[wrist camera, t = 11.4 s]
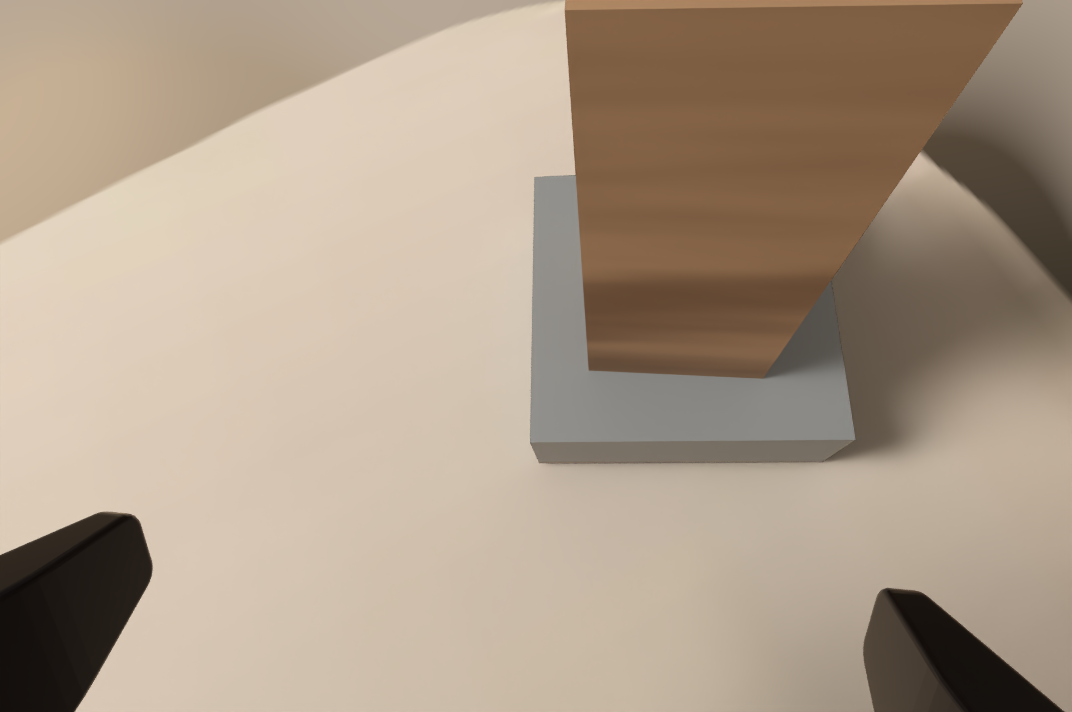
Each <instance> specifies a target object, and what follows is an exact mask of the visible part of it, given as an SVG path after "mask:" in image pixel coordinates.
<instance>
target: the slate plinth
mask: <svg viewBox="0 0 1072 712" xmlns="http://www.w3.org/2000/svg"><path fill="white" fill-rule="evenodd" d="M854 440H856V439H855V433H854V426H853V420H852V413H851V407H850V400H849V393H848V387H847V380H846V374H845V367H844V360H843V354H842V347H841V341H840V334H839V328H838V321H837V314H836V308H835V301H834V295H833V288H832V281H830V283H829V284H828V285H827V287H826V288H825V290H824V291H823V293H822V294H821V296H820V297H819V298H818V300H817V301H816V303H815V304H814V306H813V307H812V309H811V310H810V311H809V313H808V314H807V316H806V317H805V319H804V320H803V322H802V323H801V324H800V326H799V327H798V329H797V330H796V332H795V333H794V334H793V336H792V337H791V339H790V340H789V342H788V343H787V345H786V346H785V347H784V349H783V350H782V352H781V353H780V355H779V356H778V358H777V359H776V360H775V362H774V363H773V365H772V366H771V368H770V369H769V371H768V372H767V373H766V375H765V376H764V378H763V379H757V378H736V377H715V376H693V375H672V374H651V373H629V372H608V371H589V369H588V354H587V339H586V323H585V308H584V293H583V278H582V263H581V248H580V233H579V218H578V203H577V187H576V175H568V176H545V177H535V178H534V237H533V296H532V356H531V415H530V443H531V446H532V448H533V450H534V452H535V455H536V457H537V459H538V461H539V463H650V462H823V461H824V460H826V459H827V458H829V457H830V456H832V455H833V454H835V453H836V452H838V451H839V450H841V449H842V448H844V447H845V446H847V445H848V444H850V443H851V442H853V441H854Z"/></svg>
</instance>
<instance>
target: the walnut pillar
mask: <svg viewBox="0 0 1072 712" xmlns="http://www.w3.org/2000/svg"><path fill="white" fill-rule="evenodd" d="M1022 4H1023V2H1022V0H566V2H565V21H566V36H567V51H568V66H569V82H570V97H571V112H572V127H573V142H574V157H575V172H576V187H577V203H578V218H579V233H580V248H581V263H582V278H583V293H584V308H585V323H586V339H587V354H588V369H589V371H608V372H629V373H651V374H672V375H693V376H715V377H736V378H757V379H763V378H764V376H765V375H766V373H767V372H768V371H769V369H770V368H771V366H772V365H773V363H774V362H775V360H776V359H777V358H778V356H779V355H780V353H781V352H782V350H783V349H784V347H785V346H786V345H787V343H788V342H789V340H790V339H791V337H792V336H793V334H794V333H795V332H796V330H797V329H798V327H799V326H800V324H801V323H802V322H803V320H804V319H805V317H806V316H807V314H808V313H809V311H810V310H811V309H812V307H813V306H814V304H815V303H816V301H817V300H818V298H819V297H820V296H821V294H822V293H823V291H824V290H825V288H826V287H827V285H828V284H829V283H830V281H831V280H832V278H833V277H834V275H835V274H836V272H837V271H838V270H839V268H840V267H841V265H842V264H843V262H844V261H845V259H846V258H847V257H848V255H849V254H850V252H851V251H852V249H853V248H854V246H855V245H856V244H857V242H858V241H859V239H860V238H861V236H862V235H863V233H864V232H865V231H866V229H867V228H868V226H869V225H870V223H871V222H872V220H873V219H874V218H875V216H876V215H877V213H878V212H879V210H880V209H881V207H882V206H883V205H884V203H885V202H886V200H887V199H888V197H889V196H890V194H891V193H892V192H893V190H894V189H895V187H896V186H897V184H898V183H899V181H900V180H901V179H902V177H903V176H904V174H905V173H906V171H907V170H908V169H909V167H910V166H911V164H912V163H913V161H914V160H915V158H916V157H917V156H918V154H919V153H920V151H921V150H922V148H923V147H924V145H925V144H926V142H927V141H928V140H929V138H930V136H931V135H932V133H933V132H934V131H935V130H936V128H937V127H938V125H939V124H940V122H941V121H942V119H943V118H944V116H945V115H946V114H947V112H948V111H949V109H950V108H951V106H952V105H953V103H954V102H955V101H956V99H957V98H958V96H959V95H960V93H961V92H962V91H963V89H964V88H965V86H966V85H967V83H968V82H969V80H970V79H971V77H972V76H973V75H974V73H975V71H976V70H977V69H978V67H979V66H980V65H981V63H982V62H983V60H984V59H985V57H986V56H987V54H988V53H989V52H990V50H991V49H992V47H993V46H994V44H995V43H996V41H997V40H998V38H999V37H1000V36H1001V34H1002V33H1003V31H1004V30H1005V28H1006V27H1007V26H1008V24H1009V23H1010V21H1011V20H1012V18H1013V17H1014V16H1015V14H1016V13H1017V11H1018V10H1019V8H1020V7H1021V5H1022Z"/></svg>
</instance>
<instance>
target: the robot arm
mask: <svg viewBox="0 0 1072 712" xmlns="http://www.w3.org/2000/svg"><path fill="white" fill-rule="evenodd" d="M152 570H153V565H152V560H151V557H150V553H149V550H148V547H147V543H146V540H145V537H144V533H143V530H142V527H141V524H140V521H139V520H138V519H137V518H136V517H135V516H134V515H131V514H127V513H117V512H100V513H97V514H94V515H92V516H90V517H87V518H85V519H83V520H80V521H78V522H76V523H73V524H71V525H69V526H66V527H64V528H62V529H60V530H57V531H55V532H53V533H50V534H48V535H46V536H43V537H41V538H39V539H36V540H34V541H32V542H29V543H27V544H25V545H23V546H20V547H18V548H16V549H13V550H11V551H9V552H6V553H4V554H2V555H0V712H75V710H76V709H77V707H78V706H79V704H80V703H81V701H82V700H83V698H84V697H85V695H86V693H87V692H88V690H89V688H90V687H91V685H92V683H93V682H94V680H95V678H96V677H97V675H98V673H99V671H100V669H101V668H102V666H103V664H104V662H105V661H106V659H107V657H108V655H109V653H110V652H111V650H112V648H113V646H114V645H115V643H116V641H117V639H118V638H119V636H120V634H121V632H122V630H123V629H124V627H125V625H126V623H127V622H128V620H129V618H130V616H131V615H132V613H133V611H134V609H135V607H136V606H137V604H138V602H139V600H140V599H141V597H142V595H143V593H144V592H145V590H146V588H147V586H148V584H149V582H150V579H151V576H152ZM863 655H864V664H865V669H866V674H867V679H868V683H869V688H870V693H871V698H872V703H873V708H874V712H1064V711H1063V710H1062V709H1061V708H1059V707H1058V706H1057V705H1056V704H1055V703H1054V702H1052V701H1051V700H1050V699H1049V698H1048V697H1046V696H1045V695H1044V694H1043V693H1042V692H1041V691H1039V690H1038V689H1037V688H1036V687H1035V686H1033V685H1032V684H1031V683H1030V682H1029V681H1027V680H1026V679H1025V678H1024V677H1023V676H1022V675H1020V674H1019V673H1018V672H1017V671H1016V670H1014V669H1013V668H1012V667H1011V666H1010V665H1009V664H1007V663H1006V662H1005V661H1004V660H1003V659H1001V658H1000V657H999V656H998V655H997V654H995V653H994V652H993V651H992V650H991V649H990V648H988V647H987V646H986V645H985V644H984V643H982V642H981V641H980V640H979V639H978V638H977V637H975V636H974V635H973V634H972V633H971V632H969V631H968V630H967V629H966V628H965V627H963V626H962V625H961V624H960V623H959V622H958V621H956V620H955V619H954V618H953V617H952V616H950V615H949V614H948V613H947V612H946V611H945V610H943V609H942V608H941V607H940V606H939V605H937V604H936V603H935V602H934V601H933V600H931V599H930V598H929V597H928V596H926V595H925V594H923V593H921V592H919V591H914V590H903V589H893V588H886V589H883V590H881V591H880V592H879V594H878V596H877V598H876V601H875V605H874V608H873V612H872V615H871V619H870V622H869V626H868V629H867V633H866V636H865V640H864V647H863Z"/></svg>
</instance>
